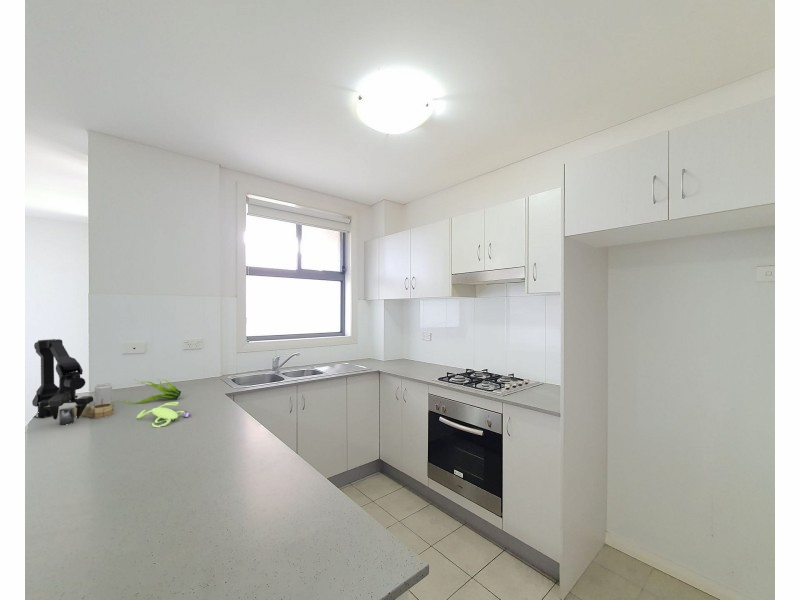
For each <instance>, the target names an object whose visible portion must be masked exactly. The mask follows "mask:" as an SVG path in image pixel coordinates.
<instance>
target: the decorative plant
mask: <svg viewBox="0 0 800 600" xmlns="http://www.w3.org/2000/svg"><path fill="white" fill-rule="evenodd" d="M155 379H157V380H158V381H159V383H160V386H159V385H158V384H157V383H154V382H152V381H148V380H147V381H143V382H141V385H146V386H150V387H153V388H155V389H157V390H158V391H159V392H161V393H163V394H155V395H152V396H151V395H150V396H149V397H147V398H144V399H142V400H139V401H136V402H134V401H129V400H126V399H122V402H123V401H124V402H126V403H128V404H133V403H138V404H144V403H143V402H146V403H149V402H151V401H155V400H158V399H159V400H160V399H176V400H178V399H179V398H180V397H181V393H182V391H181V390H179V389H178V388H177V387H176V386H175V385H173V384H172V383H171V382H170V381H168V380H166V379H163V378H161V380H162V381H163V380H164V381H165V382H167V385H168V386H169V387H170V388H169V387H166V386H164V385H162V381H161V380H160V379H159V378H155ZM135 381H136V382H138V383H135V384H136V385H137V384H140V381H139V380H136V379H135ZM177 398H178V399H177ZM115 402H116V401H112V402H111V403H112V404H114V403H115ZM117 402H121V399H119V400H117Z"/></svg>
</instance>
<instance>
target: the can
mask: <svg viewBox="0 0 800 600" xmlns="http://www.w3.org/2000/svg"><path fill="white" fill-rule="evenodd" d="M101 399H103V404H106V403H112V402H113V384H112V383H111V382H104V383H98V384H96V386H95V387H94V401H93V402H94V405H93V406H95V405H99V404H101Z"/></svg>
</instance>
